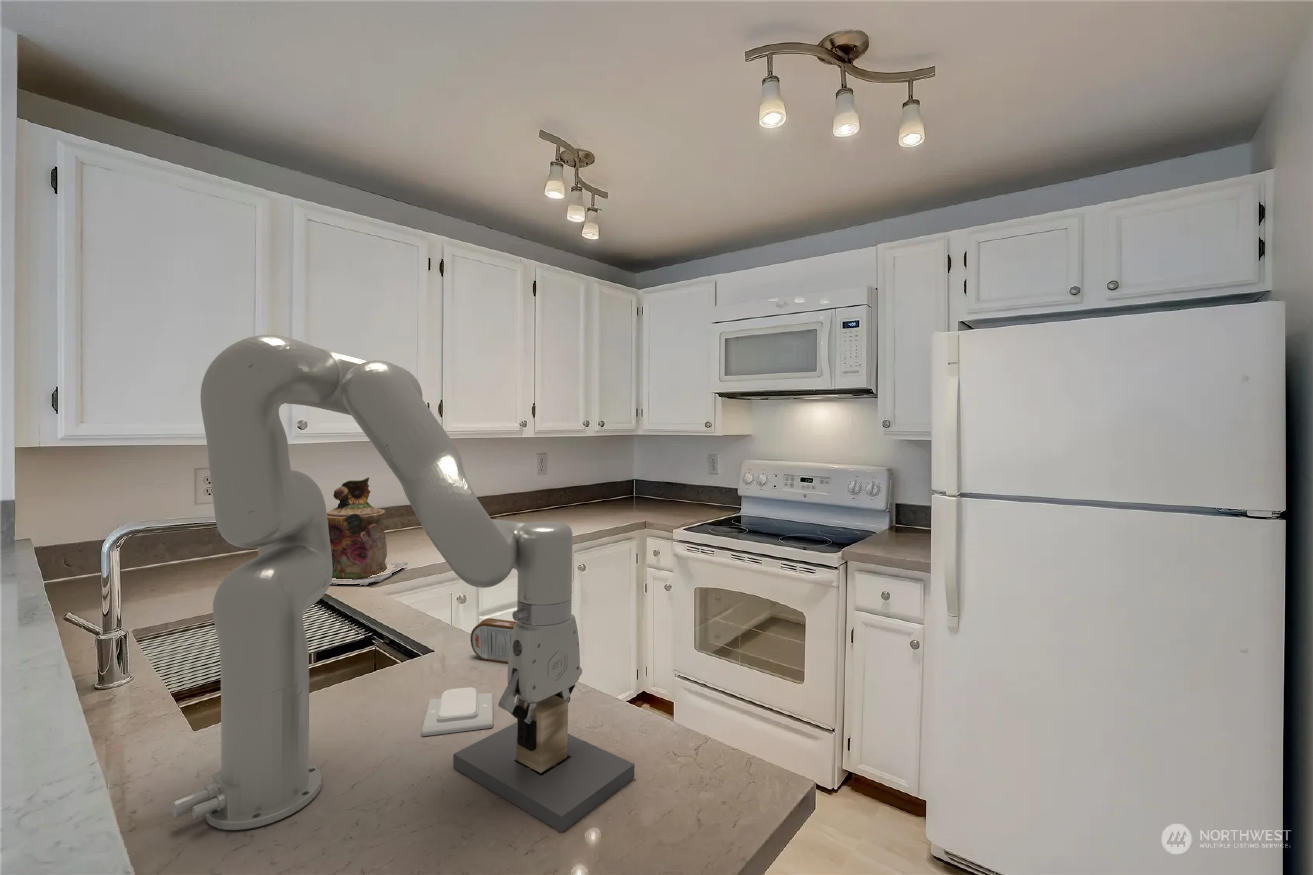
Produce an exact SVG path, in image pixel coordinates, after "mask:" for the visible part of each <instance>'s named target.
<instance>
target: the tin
mask: <svg viewBox="0 0 1313 875" xmlns="http://www.w3.org/2000/svg"><path fill="white" fill-rule="evenodd" d="M516 623H517V621H515V620H507V619H506V620H505V619H499V618H493V617H492V618H485V619H483V620H481V621H480V622H479V623H478V624H476V625H475V626H474V627H473V629H472V630H471V632H470V645H471V649H472V650H473V653H475V655H476V656H477V657H478V658H480V659H482V660H484V661H487V660H489V662H494V661H495V663H502V664H508V661H509V651H510V644H511V638H512V633H513V628H514V624H516Z"/></svg>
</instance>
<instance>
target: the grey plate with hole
mask: <svg viewBox="0 0 1313 875" xmlns="http://www.w3.org/2000/svg"><path fill="white" fill-rule="evenodd" d="M516 746H517V721H516V722H514V723H512V724H510V725H508V726H506V727H505V728H502V729H500V730H498V731H496V732H494V733H492V734H490V735H488V736H486V737H484V738H482V739H480V740H478V741H476V742H474V743H472V744H470V745H468V746H467V747H464V748H462V749H460V750H458V751H456V752H454V753H453V758H452V760H453V764H452V765H453V766H452V767H453V768H454V769H455V770H456V771H458V772H459V773H462V774H463V775H465V776H466V777H468V778H470V779H471V780H473V781H475V782H477V784H480V785H481V786H483V787H485V788H487V789H488V790H490V791H492V792H493V793H494V794H497V795H498V796H499V797H501V798H503V799H505V800H506V801H508V802H510V804H513V805H514V806H516V807H517V808H520V809H521V810H523V811H524V812H526V813H528V814H529V815H531V816H532V817H535V818H536V819H538V820H540V821H541V822H543V823H544V824H546V825H548V826H550V827H551V828H552V829H554V830H556V831H558V832H559V833H561V834H562V833H563V832H565V831H567V829H569V828H570V827H572V826H573V825H574V824H575V823H577V822H578V821H579V820H581V819H583V817H584V816H586V815H587V814H588V813H590V812H591V811H593V810H594V809H596V808H597V807H598V806H599V805H601V804H602V803H604V802H605V801H606V800H607V799H608V798H610V797H611V796H613V795H614V794H615V793H617V792H619V790H620V789H622V788H623V787H624V786H626V785H628V783H630V782H632V781H633V780H634V779H635V767H636V766H635V763H633V762H631V761H629V760H628V759H625V758H622V757H621V756H618V755H616V754H614V753H612V752H609V751H607V750H605V749H603V748H601V747H598V746H596V745H595V744H592V743H590V742H587V741H585V740H584V739H580V738H578V737H576V736H574V735H573V734H570V733H568V739H567V757H566V758H564V759H563V760H561V761H560V762H558V763H557V764H558V765H557V766H555V767H553V768H552V769H550V770H548V771H547V772H546V773H544V774H542V775H541V774H540V773H536V772H535V771H534V770H532V769H530V768H528V766H527V765H525V764H523V763H521V762H519V761H517V760H516Z"/></svg>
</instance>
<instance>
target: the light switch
mask: <svg viewBox="0 0 1313 875" xmlns="http://www.w3.org/2000/svg"><path fill="white" fill-rule="evenodd" d="M477 692H478V691H477V690H476V688H475V687H471V686H469V687H460V688H451V689H447V690H445V691H443V692H442V694H441V697H440V698H431V699H429V701H428V703H427V704H428V705H427V708H426V711H425V714H424V721H423V724H422V728H421V737H426V736H427V737H429V736H435V735H444V734H452V733H460V732H468V731H477V730H484V729H491V728H493V727H494V701H493V700H494V695H493V693H492V692H488V693H477Z"/></svg>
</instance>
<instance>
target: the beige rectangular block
mask: <svg viewBox="0 0 1313 875" xmlns="http://www.w3.org/2000/svg"><path fill="white" fill-rule="evenodd" d="M527 704H528V702H526V701H525V704H524V709H525V710H526V708H527ZM533 720H534V721H536V749H535V750H534V751H529V750H527V749H526V748H524V747H522V746H520V745H518V743H517V746H516V760H517V761H519V762H521V763H523V764H525V765H527V768H528V767H529V769H531V770H532V769H533V771H536V772H538V773H539V774H542V773H544V772H545V771H547V770H548V769H550V768H552V767H553V766H555V765H556V764H558V762H560V761H561V760H563V759H564V758H566V757H567V739H568V734H569V733H568V732H569V731H568V728H569V704H568V701H567V700H565V699H562V698H560V697H557V696H555V695H553V696H551V697H549V698H547V699H545V700H543V701H540V702H538V703H537V704H536V708H535V713H534V718H533ZM516 722H517V728H518V719H517V718H516Z"/></svg>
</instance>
